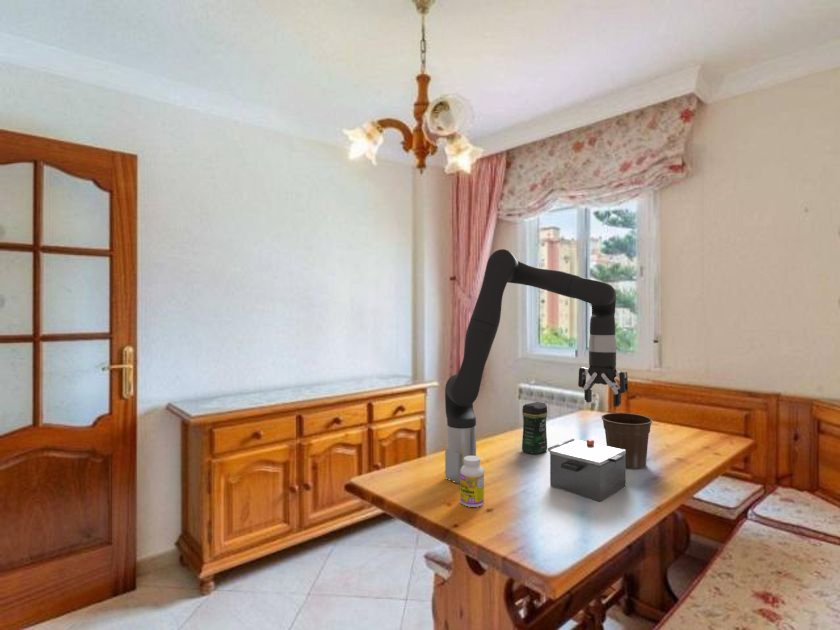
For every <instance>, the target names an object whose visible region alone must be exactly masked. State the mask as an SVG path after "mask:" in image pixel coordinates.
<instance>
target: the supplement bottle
mask: <svg viewBox="0 0 840 630" xmlns="http://www.w3.org/2000/svg"><path fill="white" fill-rule="evenodd" d="M481 463H482V461H481V457H479V456H478V455H476V456H466V457H464V464H465V465H464V466H462V468H461V470H460V484H459V486H460V487H459V490H460V491H459V493H460V494H459V497H460V498H459V501H460V504H461V505H462V504H463V505H462V506H464V505H465V506H464V507H466V506H468V507H467V508H470V507H477V508H480V507H482V506H483V505H484V504H485V470H484V467H482V466H481ZM479 506H480V507H479Z"/></svg>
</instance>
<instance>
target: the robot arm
mask: <svg viewBox="0 0 840 630" xmlns="http://www.w3.org/2000/svg"><path fill="white" fill-rule="evenodd" d="M507 283H510V284H517V285H525V286H529V287H533V288H536V289H540V290H544V291H547V292H550V293H554V294H557V295H561V296H563V297H567V298H570V299H577V300H579V301H583V302H585V303H588V304H591V316H590V318H589V319H590V320H589V339H588V365H589V366H588V368H587V367H585V366H582V367H580V368H579V369H578V380H577V381H578V383H577V384H578V385H577V386H578V387H579V388H582V389H583V390H584V392H583V393H584V400H585V402H586V403H589V404H590V403H591V402H592V401H593V399H592V398H593V397H592V396H593V395H592V394H593V393H592V391H593V390H592V388H593V386H594V385H596V384H597V385H600V384H601V385H602V386H603V385H604V386H606V385H607V386H608V387H609V388H610V389H611V390H612V391H613V407H614V408H617V407H619V406H620V405H621V404H622V394H624V393H627V392H628V391H629V381H628V372H627V371H626V370H624V371H617V369H616V368H617V339H616V320H615V318H616V317H615V316H616V315H615V313H616V304H617V292H616V289H615V288H614V287H613V286H612V285H611V284H609V283H608V282H607V283H606V282H604V281H600V280H595V279H590V278H585V277H583V276H580V275H576V274H573V273H569V272H565V271H562V270H558V269H549V268H548V269H547V268H539V267H535V266H531V265H529V264H525V263H523V262H521V261H520V260H517V258H516V257H515V255H514V254H513V253H512V252H511V251H509V250H507V249H504V248H501V249H497V250H495V251H494V252H493V253H491V255H490V256H489V257H488V259H487V263H486V267H485V272H484V277H483V281H482V285H481V288H480V292H479V294H478V297H477V298H476V299H477V300H476V303H475V304H474V305H475V306H474V308H473V311H472V314H471V316H470V319H469V322H468V325H467V329H466V332H465V339H464V349H463V350H464V352H463V358H462V363H461V366H460V368H459V371H458V373H456V374H453V375H452V376H450V377H448V379H447V381H446V384H445V388H444V398H445V399H444V400H445V405H444V406H445V415H446V422H447V425H446V427H447V428H446V433H447V436H446V439H447V444H446V445H447V446H446V447H447V448H446V449H445V452H444V455H445V457H444V458H445V459H444V460H445V461H444V465H445V467H444V468H445V470H444V474H445V478H447V479H450V480H452V481H455V482H457V483H456V484H458V483H460V470H461V468H462V466H464V465H465V464H464V457H466V456H477V418H476V414H475V411H474V406H473V405H474V403H475V402H476V400H477V399H478V396H479V392H480V388H481V384H482V378H483V375H484V370H485V366H486V363H487V361H488V358H489V355H490V352H491V349H492V347H493V344H494V341H495V338H496V335H497V332H498V330H499V329H498V328H499V326H500V322H501V321H500V320H501V317H502V316H501V315H502V303H503V295H504V293H505V289H506V286H507ZM588 374H589V378H588V380H587V375H588ZM616 377H617V379H618V380H619V383H618V381H617V380H616ZM447 479H446V480H447ZM450 480H449V481H450ZM452 481H451V482H452ZM455 482H454V483H455Z"/></svg>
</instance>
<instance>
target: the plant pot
mask: <svg viewBox="0 0 840 630" xmlns="http://www.w3.org/2000/svg"><path fill="white" fill-rule="evenodd" d="M600 417H601V420H602V422H603V429H604V432H605V440H606V441H605V442H606V446H609V447H614V448H619V449H623V450H626V453H625V454H626V470H627V469H628V470H640V469H643V468H645V467H646V466H647V458H648V448H649V447H648V446H649V435H650V432H651V427H652V426H651V425H652V423H653V419H652V418H650V417H649V416H645V415H642V414H638V413H637V414H636V413H629V412H609V413H604V414H602V415H601V416H600Z"/></svg>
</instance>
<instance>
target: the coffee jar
mask: <svg viewBox="0 0 840 630" xmlns="http://www.w3.org/2000/svg"><path fill="white" fill-rule="evenodd" d="M521 412H522V414H521V415H522V420H523V423H522V424H523V425H522V440H521V442H522V444H521V450H522V451H523V452H525V454H530V455H531V454H535V455H539V454H542V453H545V452H547V451H548V438H547V437H548V436H547V435H548V434H547V417H548V405H547V404H546V403H545V402H542V401H541V402H539V401H535V402H530V403H526V404H524V405H523V406H522V411H521Z"/></svg>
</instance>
